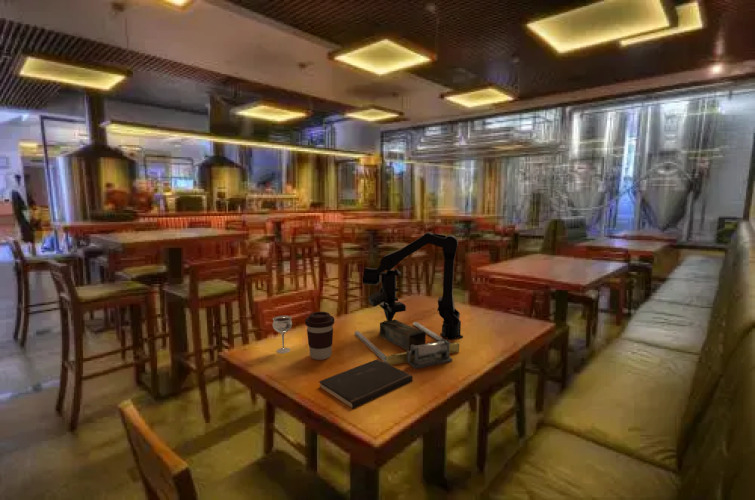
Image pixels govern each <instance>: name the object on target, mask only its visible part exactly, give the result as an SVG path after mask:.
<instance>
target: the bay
mask: <svg viewBox="0 0 755 500" xmlns="http://www.w3.org/2000/svg"><path fill="white" fill-rule="evenodd" d="M412 322H413V321H412ZM412 325H413V326H414V327H415V328H416V329H418V330H421V331H423V332H425V333H426V335H428V336H430V338H432V339H434V340H436V342H438V341H442V339H444V337H443V336H441V335H438V334H437V333H436V332H434V331H432V330H431V329H429V328H427V327H425V326H424V325H422V324H420V323H419V322H418V321H414V322H413V324H412ZM354 335H355V336H356V337H357V338H358V339H359V340H360V341H361V342H362V343H363V344H365V346H366V347H367V348H368V349H369V350H371V351H372V352H373V353H374V354H375V355H376V356H377V357H378V358H379V360H380V361H383V362H385V363H387V364H389V365H391V366H394V365H399V364H404V363H407V362H406V352H407V351H405V352H404V351H403V352H400V353H394V354H389V355H386V354H385V353H384V352H382V351H381V350H380V349H379V348H378V347H377V346H375V344H374V343H372V342H371V341H370V340H369V339H368V338H367V337H366V336H365V335H363V334H362V333H361V332H360V331H359V330H356V331H354ZM459 352H460V343H459V342H452V343H451V342H450V345H449V354H453V353H454V354H455V353H459Z"/></svg>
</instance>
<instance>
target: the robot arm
mask: <svg viewBox="0 0 755 500" xmlns="http://www.w3.org/2000/svg"><path fill="white" fill-rule="evenodd" d="M429 244H430V245H433V246H435V247H439V248H442V255H443V258H444V259H443V260H444V264H443V285H442V286H443V287H442V296H438V299H437V310H436V311H437V312H438V314H439V316H440V317H441V318H442V319H443V321H442V325H441V332H440V334H439V335H440V336H441V337H443V338H444V339H445V338H446V340H448V341H449V340H450V341H451V340H455V339H460V338H461V339H462V338H463V336H464V335H462V334H461V330H462V329H461V328H462V327H461V326H462V324H461V323H462V321H461V320H460V317H461V313H460V312H459V311H458V310H457V308H456V306H455V298H454V293H453V291H454V290H453V289H454V276H455V275H454V273H455V271H454V270H455V258H456V254H457V250H458V245H459V239H458V237H457V236H456V235H454V234H447V235H443V234H438V233H433V232H430V231H427V232H425V233H424V234H423V235H421V236H419V238H417V239H415V240H414V241H412V242H409V244H407V245H406V246H403V247H402V248H400V249H398V250H395V251H392V252H388V254H386V255H383V256H382V258H381V259H380V264H379V266H378V267H377V268H373V267H372V268H371V267H365V268H364V269H363V276H362V283H363V285H369V286H370V285H371V286H379V283H380V284H381V286H380V287H379V291H377V292H374V293H373V294H370V295H369V296H367V298H368V301H369V304H370V305H371V306H372V307H377V306H378V305H379V307H380V308H381V309H383V311H384V315H385V318H386V321H390V320H394V317H395V315H396V313H400V312H401V313H402V312H406V311H407V306H406V304H404V303H403V302H401V301H399V298H398V297H397V292H399V287H398V288H397V276H400V275H401V274H402V271H400V270H399V269H398V268H396V269H394V270H392V269H393V268H395V267H396V266H397V265H398V264H399V263H400V262H402V261H403V260H404V259H405V258H407V257H408V256H410V255H412V254H413V253H415V252H416V251H418V250H420V249H422V248H423V247H425V246H426V245H429Z"/></svg>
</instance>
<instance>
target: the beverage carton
mask: <svg viewBox="0 0 755 500" xmlns="http://www.w3.org/2000/svg"><path fill="white" fill-rule="evenodd" d="M379 337H380V338H382V339H384V340H386V341H387V342H389V343H392V344H394V345H396V346H398V347H400V348H402V349H404V350H406V352H407V351H411V345H415V346H417V345H422V344H426V340H427V339H426V337H427V334H426V333H425V332H423V331H422V330H420V329H419V328H417V327H415V326H414V327H413V326H410V325H409V324H406V323H404V322H401V321H399V320H398V319H392V320H390V321H387V320H384V321H381V322H379Z"/></svg>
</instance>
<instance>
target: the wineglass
mask: <svg viewBox="0 0 755 500" xmlns="http://www.w3.org/2000/svg"><path fill="white" fill-rule="evenodd" d="M292 319H293V317H292V316H290V315H285V314H284V315H278V316H274V317H273V318H272V320H273V322H272V328H273V329H274V330H275V331H276V332H277V333H279V334H281V340H282V341H281V343H282V347H281V348H278V349H276V353H277V354H286V353H289V352H291V348H289V347H285V334H286V333H288V332H289V331H290V330H291V328H292V325H293V322H292Z"/></svg>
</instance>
